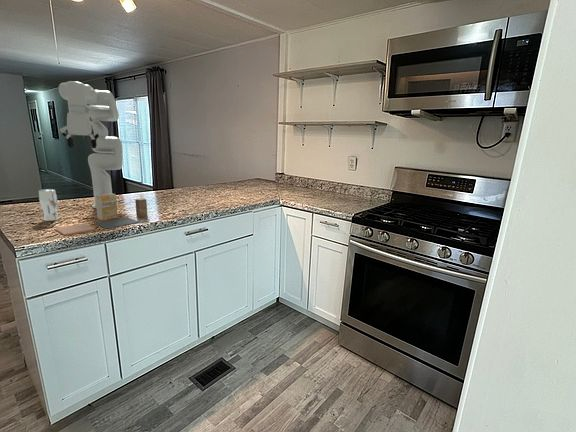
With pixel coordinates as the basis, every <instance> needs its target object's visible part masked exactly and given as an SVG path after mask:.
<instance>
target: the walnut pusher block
mask: <svg viewBox="0 0 576 432" xmlns="http://www.w3.org/2000/svg"><path fill="white" fill-rule="evenodd" d="M134 201H135V211H136V218H138V219H147V218H148V206H147V205H148V203H147V199H146V198H143V197H141V198H135V199H134Z"/></svg>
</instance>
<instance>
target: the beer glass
mask: <svg viewBox="0 0 576 432" xmlns="http://www.w3.org/2000/svg"><path fill="white" fill-rule="evenodd" d="M38 200H39V203H40V207H41V209H42V212H43V220H44V221H45V222H53V221H57V220H60V217H59V215H58V197H57V192H56V189H53V188H46V189H45V188H44V189H39V190H38Z"/></svg>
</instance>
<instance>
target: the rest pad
mask: <svg viewBox="0 0 576 432" xmlns="http://www.w3.org/2000/svg"><path fill="white" fill-rule="evenodd" d="M55 231H57V232H58V233H59V234H61V235H63V236H64V237H65V236H71V235H77V234H78V235H79V234H82V233H88V232H93V231H96V228H95V227H93V226H91V225H89V224H87V223H79V224H73V225H67V226H66V225H65V226H60V227H55Z"/></svg>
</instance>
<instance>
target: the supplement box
mask: <svg viewBox="0 0 576 432" xmlns="http://www.w3.org/2000/svg"><path fill="white" fill-rule="evenodd" d="M95 198H96V207H97V208H96V215H97V216H96V217H97V220H99V221H100V222H101V221H107V220H113V219H119V218H118V216H119V215H118V214H119V213H118V205H117V204H118V203H117V194H116V193H113V192H112V193H109V194H101V195H95Z"/></svg>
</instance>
